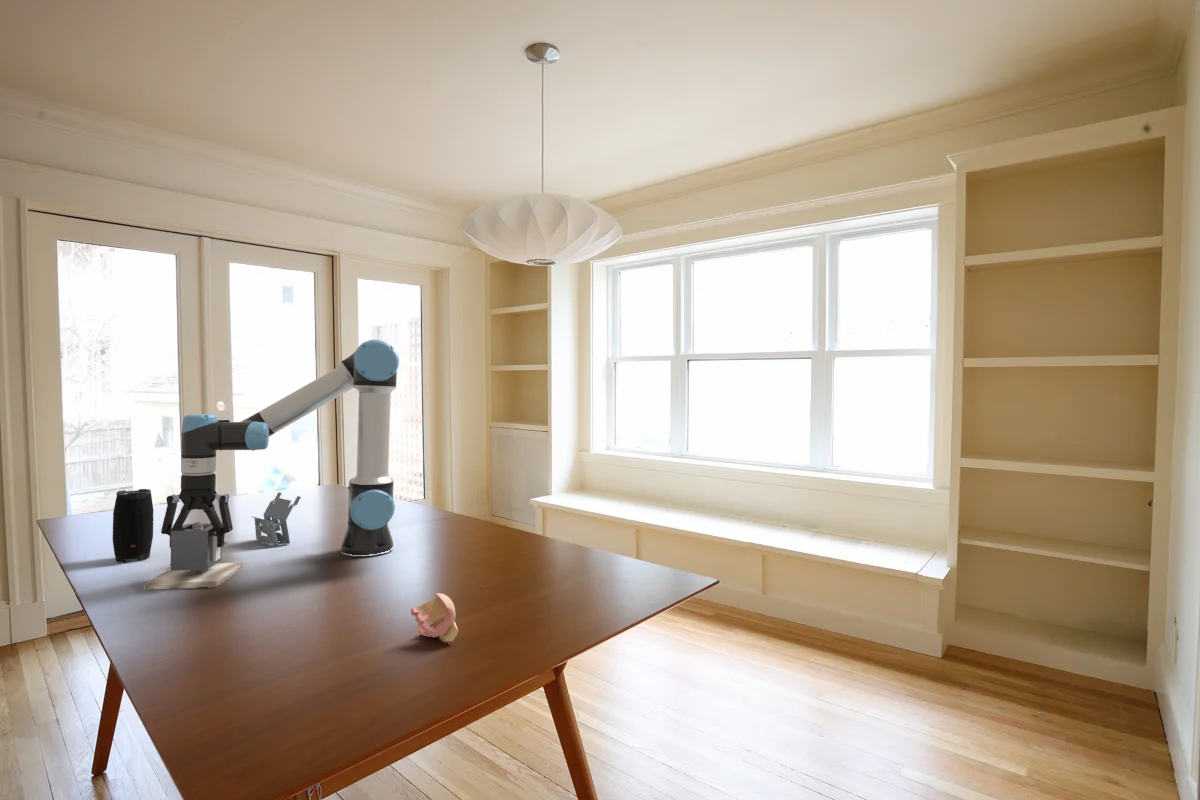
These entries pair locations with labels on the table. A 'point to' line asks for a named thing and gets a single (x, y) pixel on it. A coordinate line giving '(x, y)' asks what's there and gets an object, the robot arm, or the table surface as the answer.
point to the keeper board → (194, 575)
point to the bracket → (275, 521)
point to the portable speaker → (133, 525)
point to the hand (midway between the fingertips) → (197, 559)
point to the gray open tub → (192, 548)
